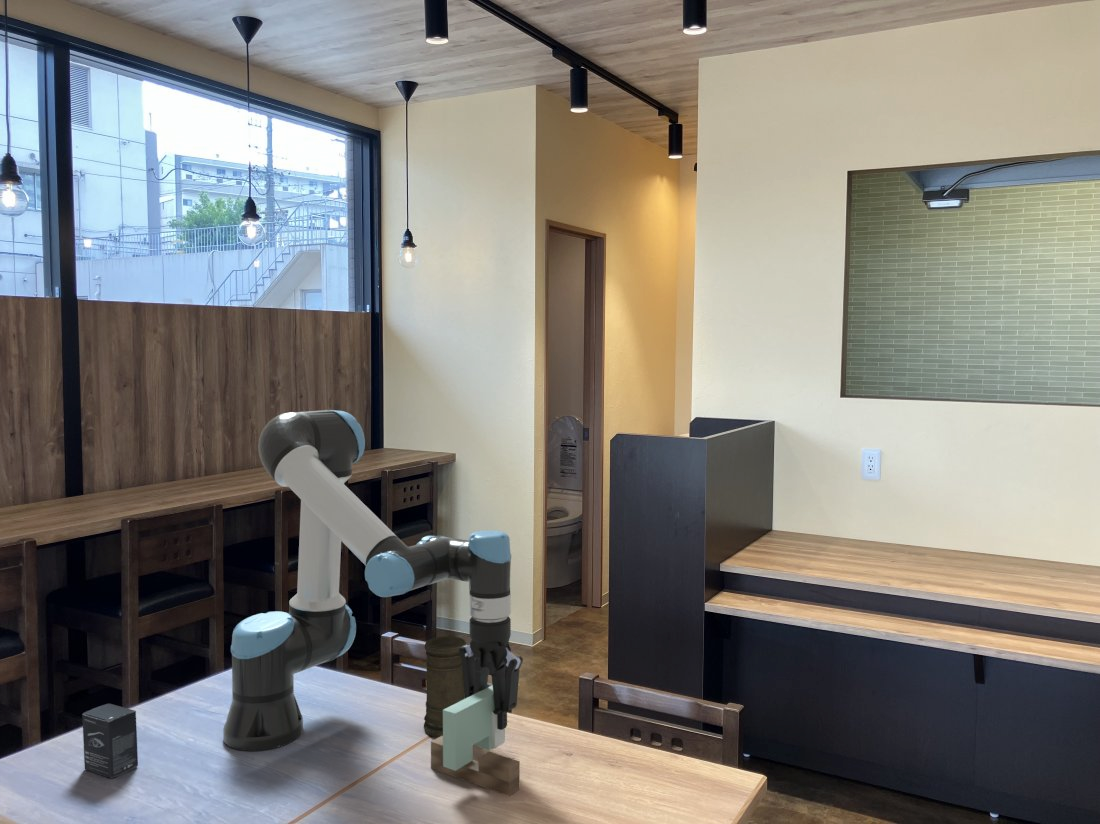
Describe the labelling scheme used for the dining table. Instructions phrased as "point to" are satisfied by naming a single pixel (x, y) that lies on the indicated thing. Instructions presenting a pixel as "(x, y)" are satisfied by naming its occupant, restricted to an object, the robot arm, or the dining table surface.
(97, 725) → the box
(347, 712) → the dining table surface
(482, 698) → the plate
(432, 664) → the container
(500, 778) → the slotted rail
